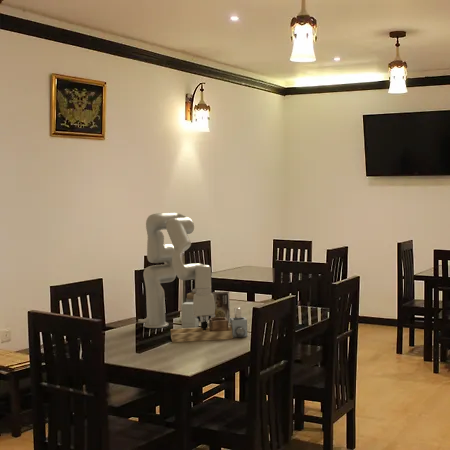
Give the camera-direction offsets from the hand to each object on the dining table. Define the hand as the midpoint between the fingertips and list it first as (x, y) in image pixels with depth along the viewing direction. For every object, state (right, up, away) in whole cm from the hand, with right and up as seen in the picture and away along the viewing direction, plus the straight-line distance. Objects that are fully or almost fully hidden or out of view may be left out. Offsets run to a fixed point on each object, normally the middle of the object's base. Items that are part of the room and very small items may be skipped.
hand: (204, 329), depth 328 cm
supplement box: (-8, -3, +26) cm, 28 cm away
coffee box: (+8, -2, +37) cm, 38 cm away
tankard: (-3, -2, +54) cm, 54 cm away
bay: (-1, -4, 0) cm, 4 cm away
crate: (+7, -2, +1) cm, 7 cm away
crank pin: (+16, +2, +2) cm, 16 cm away
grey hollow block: (+17, -3, +1) cm, 17 cm away
